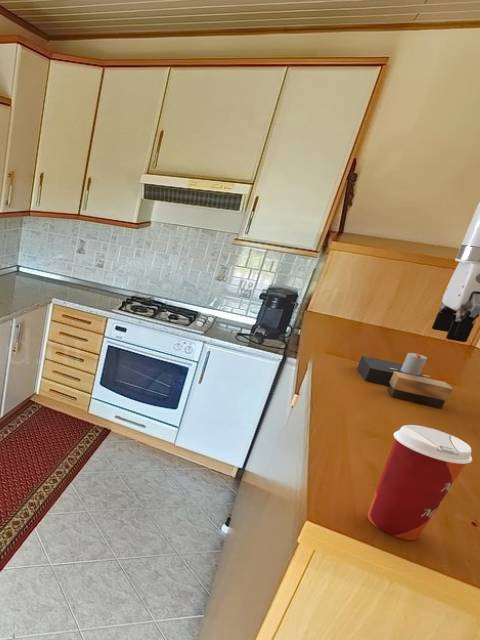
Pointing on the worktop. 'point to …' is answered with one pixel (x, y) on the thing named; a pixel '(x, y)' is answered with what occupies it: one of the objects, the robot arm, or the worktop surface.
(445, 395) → the brush
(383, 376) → the stove
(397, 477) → the paper cup
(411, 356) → the stove knob
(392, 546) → the worktop surface
